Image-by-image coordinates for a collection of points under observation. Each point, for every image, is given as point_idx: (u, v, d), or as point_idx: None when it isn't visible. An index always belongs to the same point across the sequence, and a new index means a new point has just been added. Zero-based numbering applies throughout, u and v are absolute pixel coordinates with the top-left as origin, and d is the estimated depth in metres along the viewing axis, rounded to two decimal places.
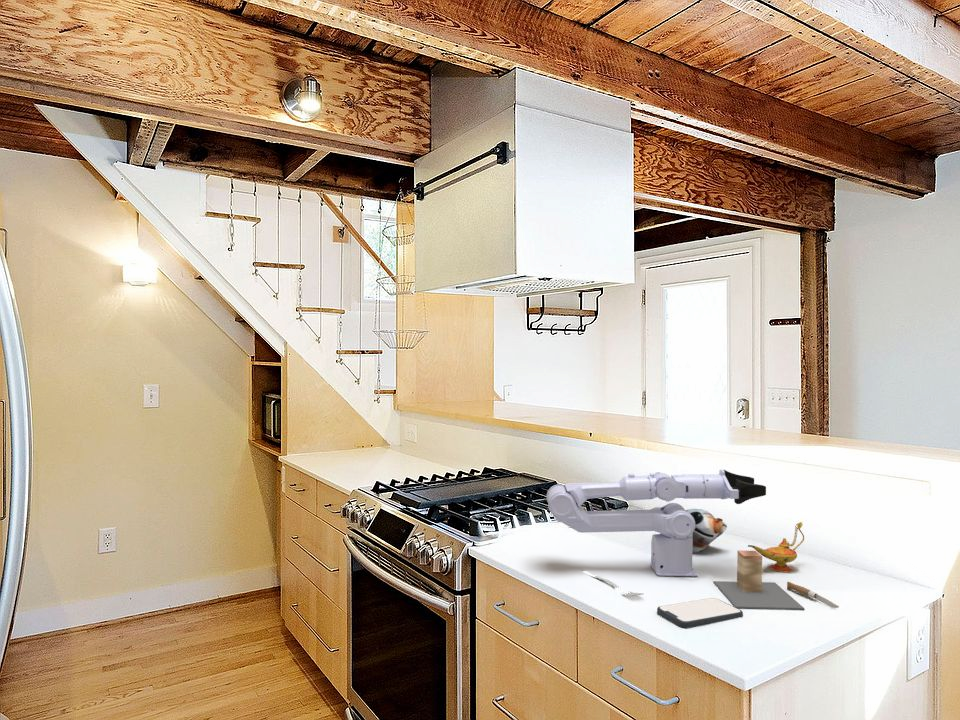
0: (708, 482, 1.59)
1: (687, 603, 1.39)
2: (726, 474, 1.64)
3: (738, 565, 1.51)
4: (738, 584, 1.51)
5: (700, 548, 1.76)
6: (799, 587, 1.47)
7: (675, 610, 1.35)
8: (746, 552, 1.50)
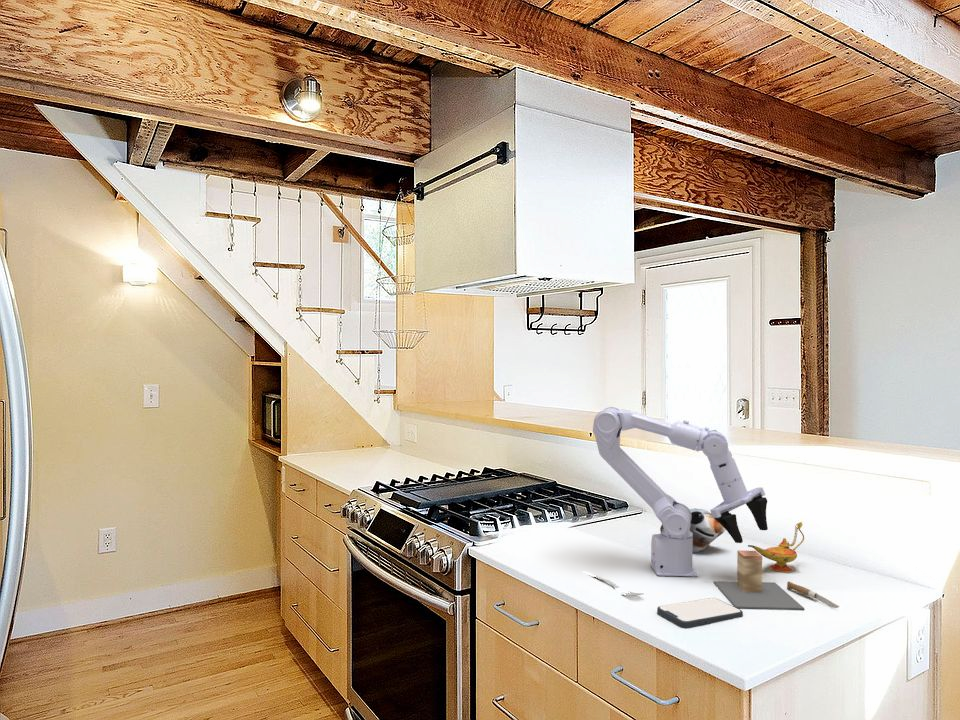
0: (727, 487, 1.55)
1: (687, 603, 1.39)
2: (758, 502, 1.56)
3: (738, 565, 1.51)
4: (738, 584, 1.51)
5: (701, 548, 1.76)
6: (799, 587, 1.47)
7: (675, 610, 1.35)
8: (746, 552, 1.50)
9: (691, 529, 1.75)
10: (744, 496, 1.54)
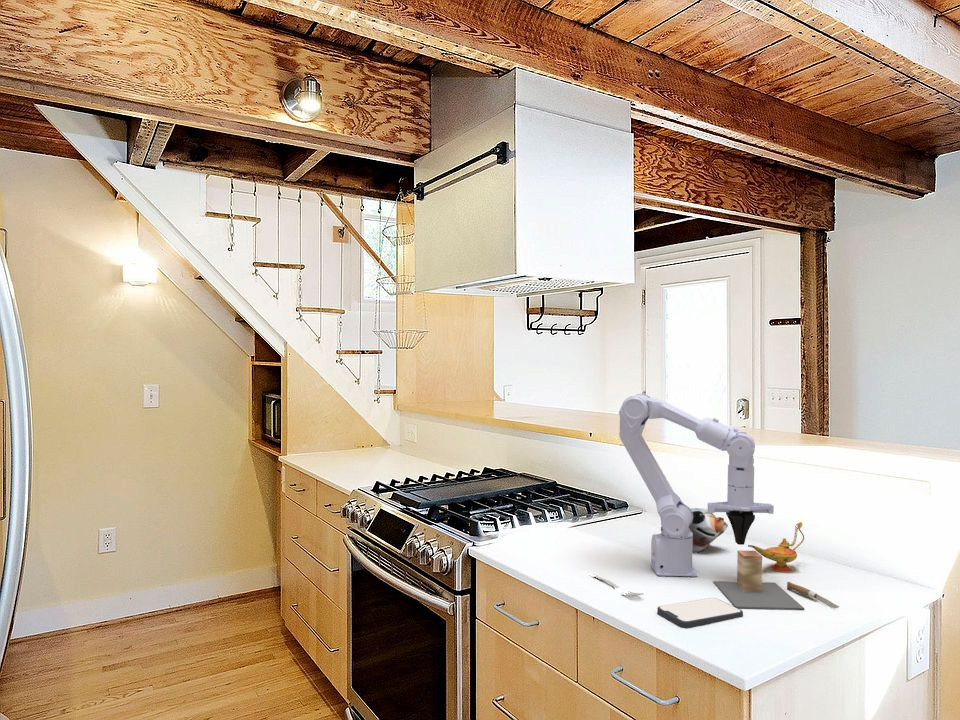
0: (732, 490, 1.54)
1: (687, 603, 1.39)
2: (744, 517, 1.54)
3: (738, 565, 1.51)
4: (738, 584, 1.51)
5: (702, 547, 1.77)
6: (799, 587, 1.47)
7: (675, 610, 1.35)
8: (746, 552, 1.50)
9: (692, 529, 1.75)
10: (745, 505, 1.53)
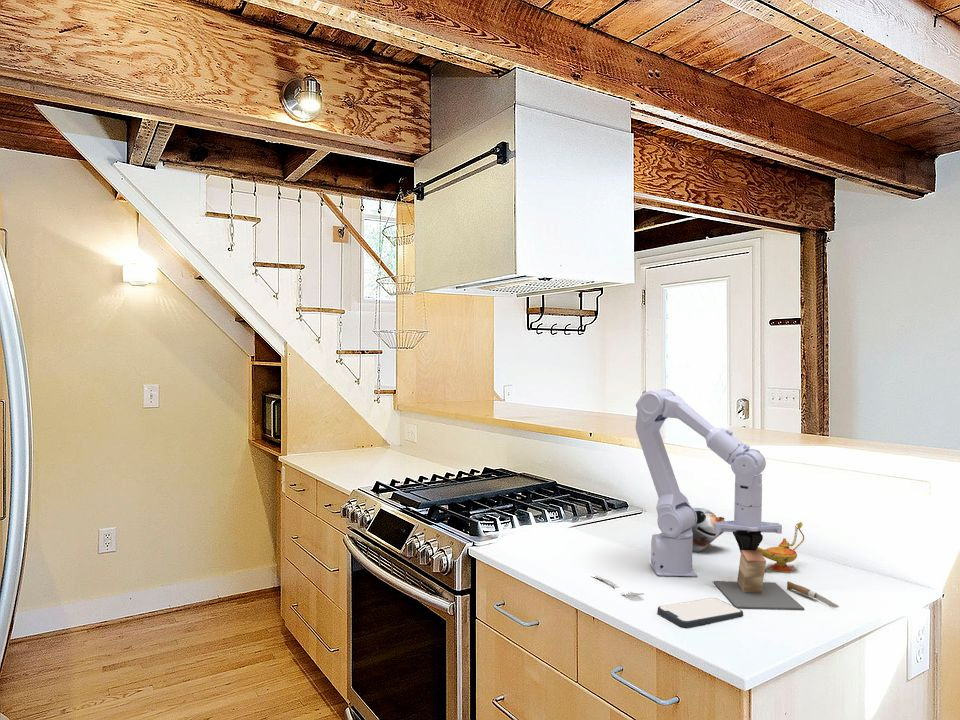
0: (739, 509, 1.49)
1: (688, 603, 1.39)
2: (751, 537, 1.49)
3: (740, 564, 1.49)
4: (738, 581, 1.50)
5: (703, 547, 1.77)
6: (799, 587, 1.47)
7: (675, 610, 1.35)
8: (750, 553, 1.48)
9: (693, 528, 1.76)
10: (753, 525, 1.48)
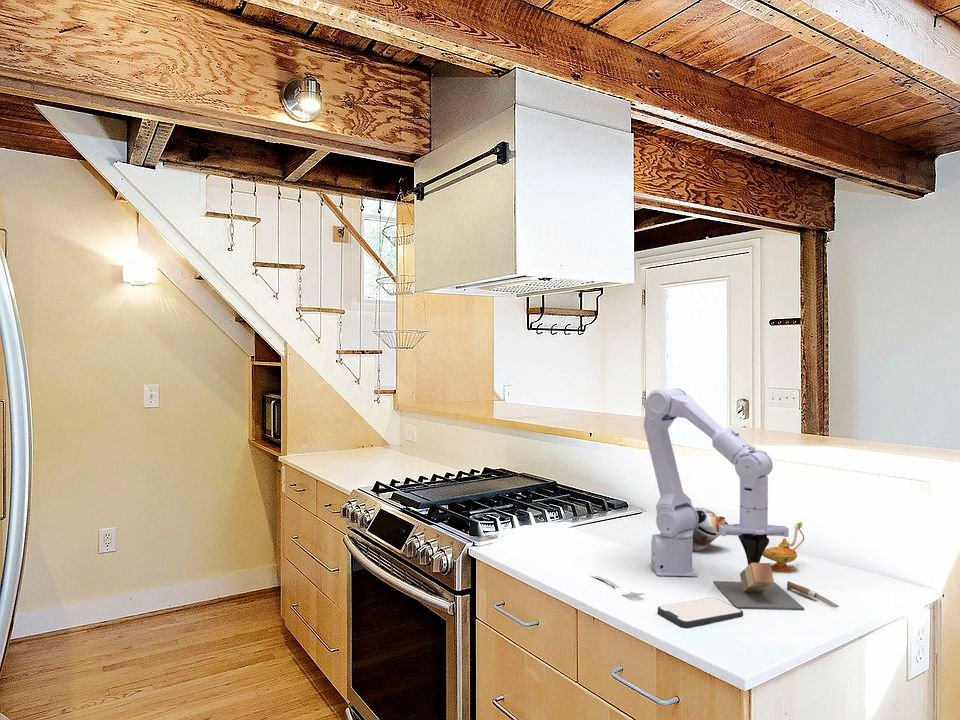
0: (745, 512, 1.46)
1: (688, 603, 1.39)
2: (757, 540, 1.45)
3: (747, 570, 1.45)
4: (741, 577, 1.49)
5: (703, 546, 1.78)
6: (799, 587, 1.47)
7: (675, 610, 1.35)
8: (759, 569, 1.42)
9: (694, 528, 1.76)
10: (759, 528, 1.45)
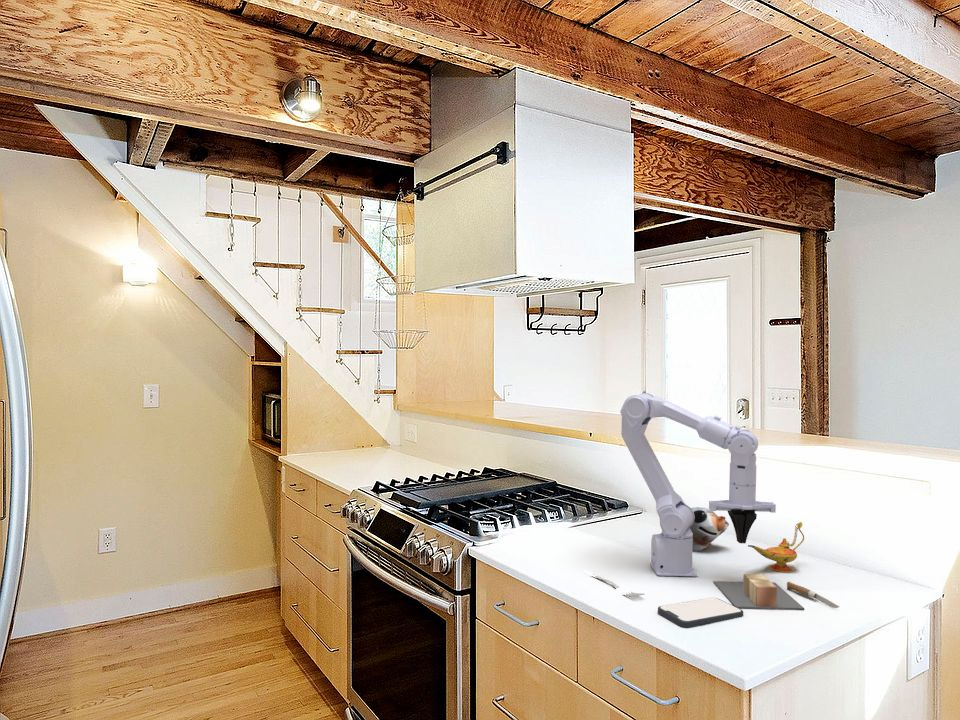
0: (734, 488, 1.53)
1: (688, 602, 1.39)
2: (745, 515, 1.52)
3: (751, 585, 1.43)
4: (744, 579, 1.47)
5: (704, 546, 1.78)
6: (799, 587, 1.47)
7: (675, 610, 1.35)
8: (764, 594, 1.39)
9: (694, 528, 1.76)
10: (747, 504, 1.51)
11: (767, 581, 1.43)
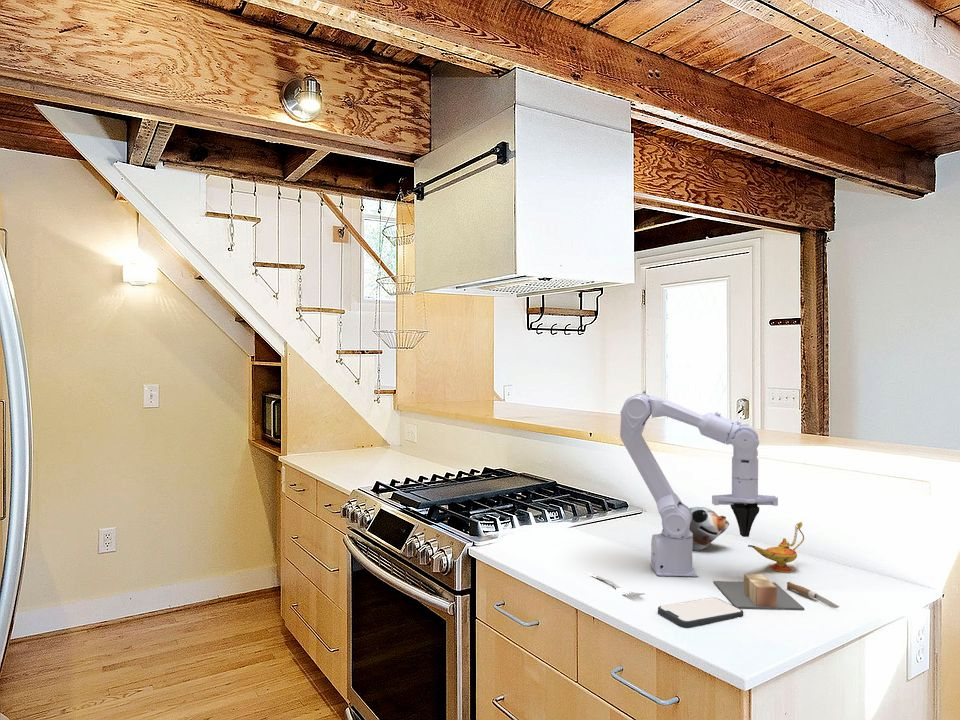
0: (736, 482, 1.54)
1: (688, 602, 1.39)
2: (748, 509, 1.54)
3: (751, 585, 1.43)
4: (744, 579, 1.47)
5: (704, 546, 1.78)
6: (799, 587, 1.47)
7: (675, 610, 1.35)
8: (764, 594, 1.39)
9: (695, 527, 1.77)
10: (750, 497, 1.53)
11: (767, 581, 1.43)
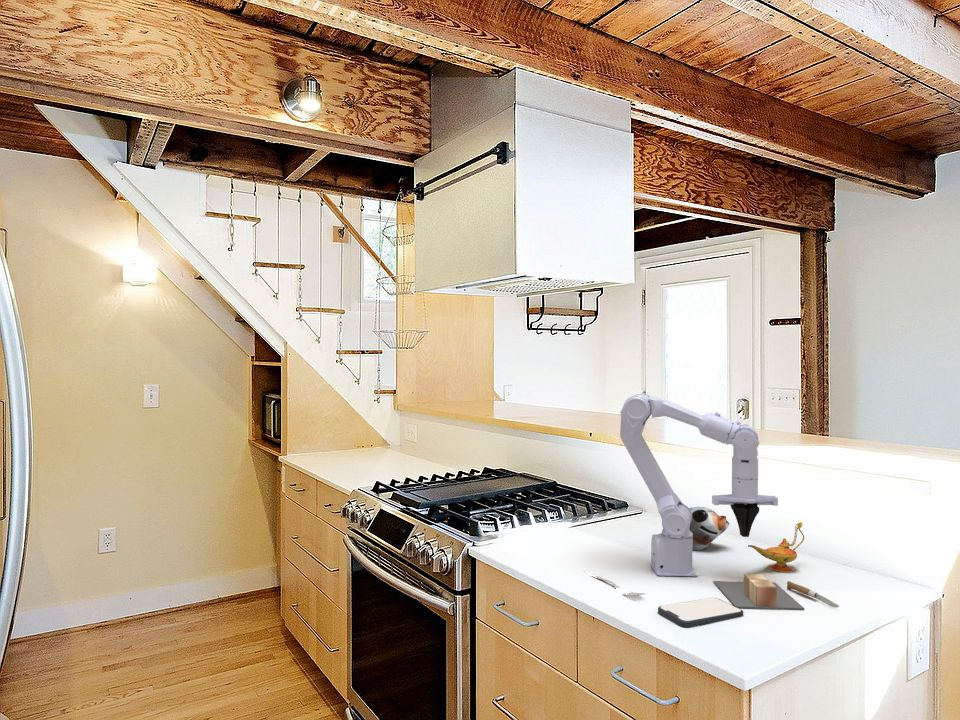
0: (736, 482, 1.54)
1: (688, 602, 1.39)
2: (748, 509, 1.54)
3: (751, 585, 1.43)
4: (744, 579, 1.47)
5: (705, 545, 1.78)
6: (799, 586, 1.47)
7: (676, 609, 1.35)
8: (764, 594, 1.39)
9: (695, 527, 1.77)
10: (750, 497, 1.53)
11: (767, 581, 1.43)
